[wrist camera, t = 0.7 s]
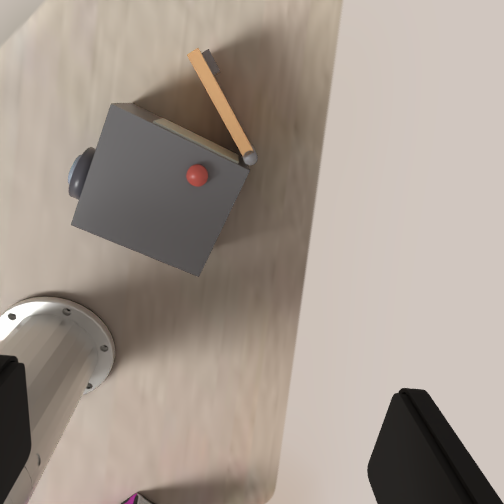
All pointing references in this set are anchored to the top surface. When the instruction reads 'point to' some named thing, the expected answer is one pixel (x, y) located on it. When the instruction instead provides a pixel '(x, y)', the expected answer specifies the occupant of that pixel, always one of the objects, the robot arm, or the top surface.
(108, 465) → the top surface
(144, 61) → the top surface
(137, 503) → the candy bar box
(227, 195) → the camera body
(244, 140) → the side door
